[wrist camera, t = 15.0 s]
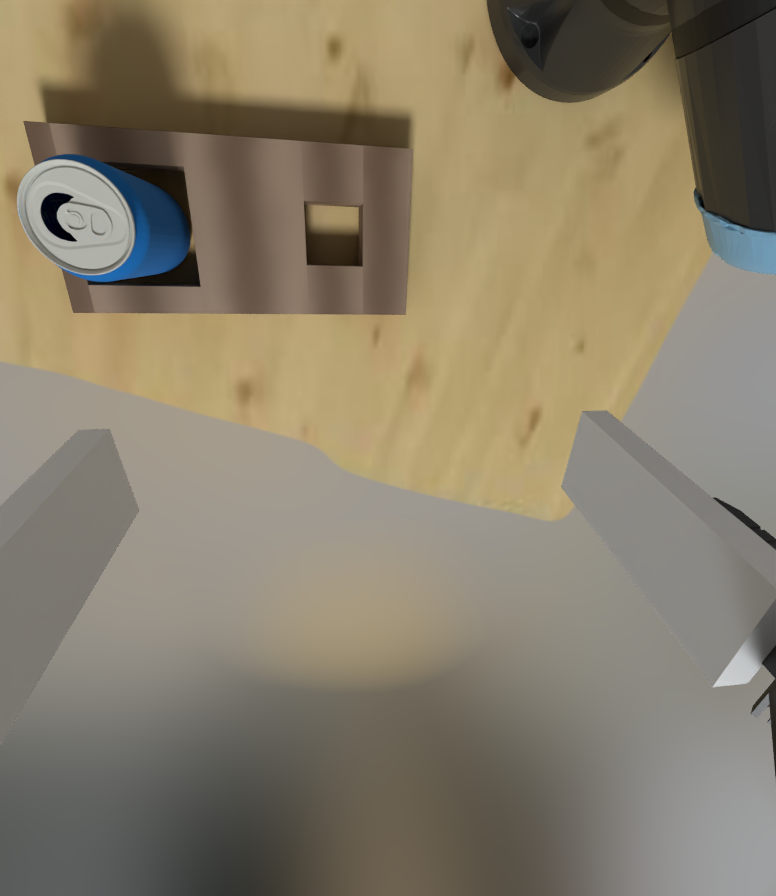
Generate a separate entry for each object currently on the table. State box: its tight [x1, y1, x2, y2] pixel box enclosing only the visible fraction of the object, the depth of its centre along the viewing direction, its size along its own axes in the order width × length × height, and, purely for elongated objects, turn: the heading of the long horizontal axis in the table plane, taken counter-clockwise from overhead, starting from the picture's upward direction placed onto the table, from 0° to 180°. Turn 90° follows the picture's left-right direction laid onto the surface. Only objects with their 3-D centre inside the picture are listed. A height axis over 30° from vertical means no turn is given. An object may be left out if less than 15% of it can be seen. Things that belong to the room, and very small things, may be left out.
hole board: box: [23, 121, 413, 315], centre depth 34 cm, size 26×12×3 cm, turn 89°
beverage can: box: [17, 154, 190, 282], centre depth 29 cm, size 6×6×12 cm
